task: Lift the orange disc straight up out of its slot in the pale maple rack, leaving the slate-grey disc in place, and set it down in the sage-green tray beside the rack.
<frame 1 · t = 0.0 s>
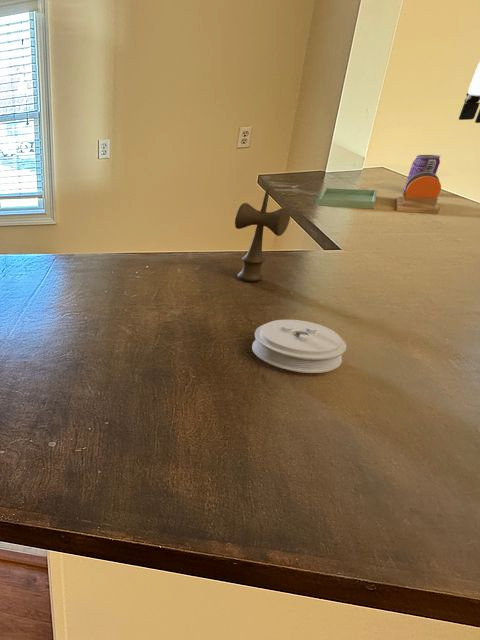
hand: (474, 121, 126), 25 cm above the countertop, tool pointing down, fingers open, 9 cm apart
disc rack: (415, 206, 151), on the countertop
kendama: (249, 280, 108), on the countertop
beverage can: (415, 193, 166), on the countertop
orange disc: (423, 190, 146), point 6 cm above the countertop, touching disc rack
white round disc: (293, 358, 78), on the countertop
slate disc: (422, 185, 151), point 6 cm above the countertop, touching disc rack
tray: (346, 200, 163), on the countertop
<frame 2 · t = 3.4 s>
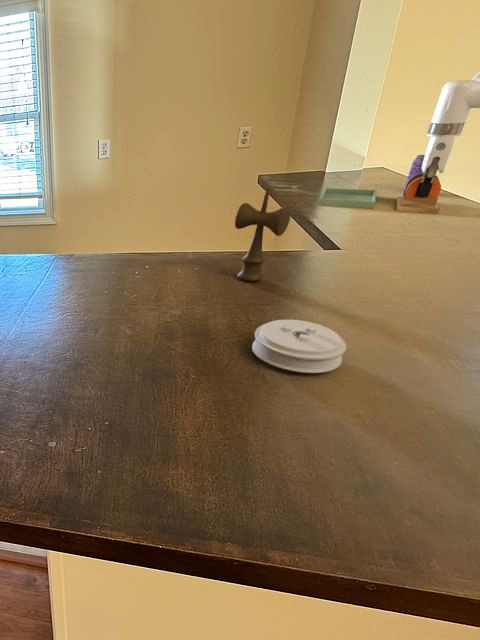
hand: (421, 195, 146), 4 cm above the countertop, tool pointing down, fingers closed on orange disc, 1 cm apart
orange disc: (423, 190, 146), point 6 cm above the countertop, touching disc rack, gripper
everything else where it was.
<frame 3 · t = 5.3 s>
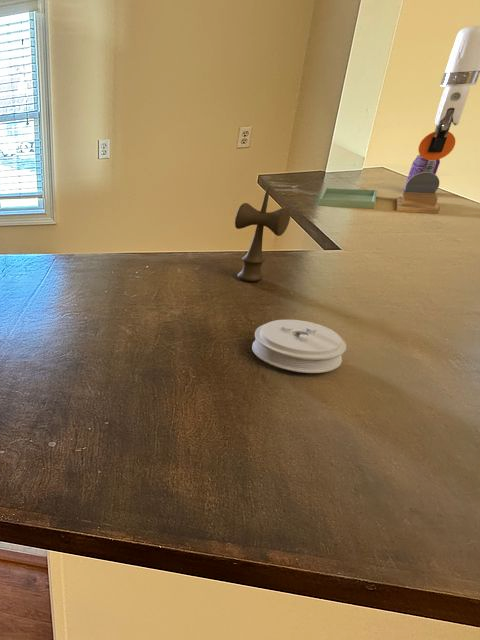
hand: (434, 151, 141), 17 cm above the countertop, tool pointing down, fingers closed on orange disc, 1 cm apart
orange disc: (436, 145, 140), point 18 cm above the countertop, touching gripper
everything else where it was.
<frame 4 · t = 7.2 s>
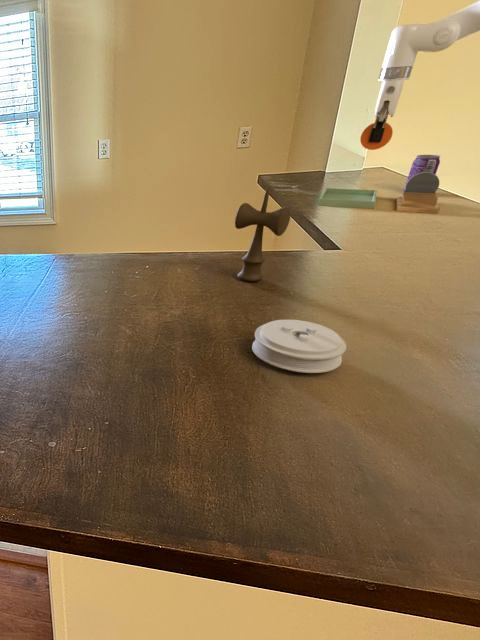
hand: (374, 141, 151), 19 cm above the countertop, tool pointing down, fingers closed on orange disc, 1 cm apart
orange disc: (376, 135, 151), point 20 cm above the countertop, touching gripper
everything else where it was.
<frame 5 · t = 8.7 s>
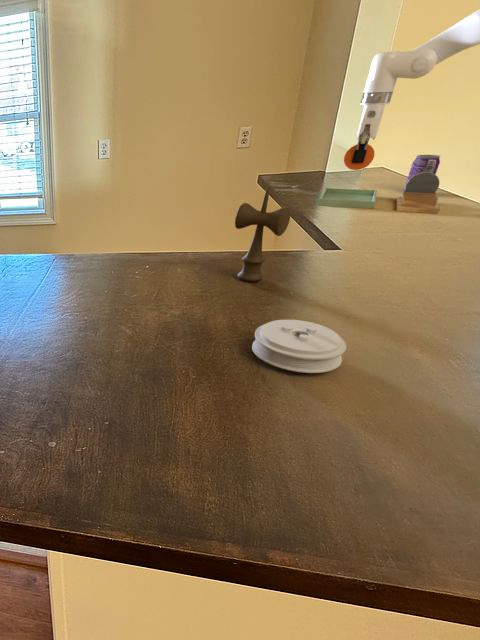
hand: (357, 162, 157), 12 cm above the countertop, tool pointing down, fingers closed on orange disc, 1 cm apart
orange disc: (358, 156, 156), point 14 cm above the countertop, touching gripper
everything else where it was.
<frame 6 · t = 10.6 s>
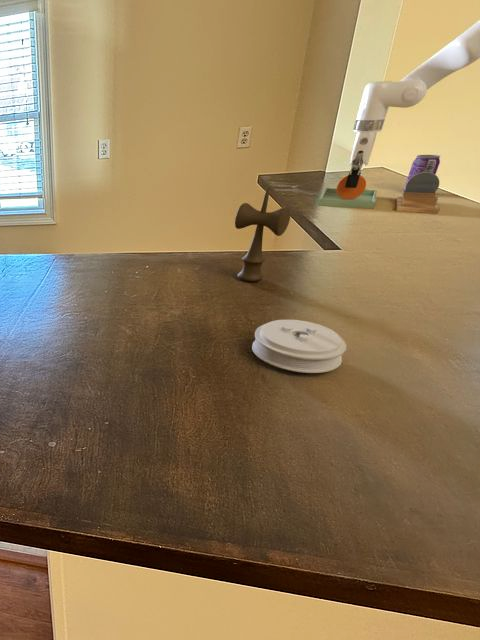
hand: (351, 185, 161), 5 cm above the countertop, tool pointing down, fingers open, 4 cm apart
orange disc: (351, 186, 161), point 5 cm above the countertop, touching tray
everything else where it was.
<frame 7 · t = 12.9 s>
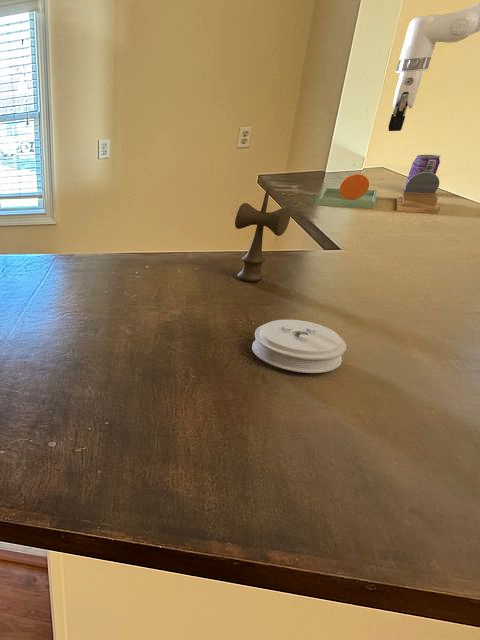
hand: (394, 129, 151), 22 cm above the countertop, tool pointing down, fingers open, 9 cm apart
orange disc: (354, 186, 160), point 5 cm above the countertop, tilted 15°, touching tray
everything else where it was.
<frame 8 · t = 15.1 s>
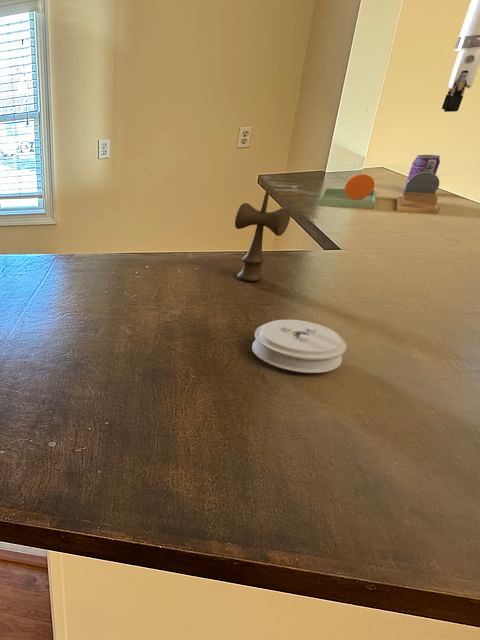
hand: (449, 110, 146), 26 cm above the countertop, tool pointing down, fingers open, 9 cm apart
orange disc: (359, 187, 159), point 5 cm above the countertop, tilted 35°, touching tray
everything else where it was.
at the end: orange disc inside the target area on the tray (2.4 cm from its centre), point 4.6 cm above the tray's base; the gripper is holding nothing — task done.
